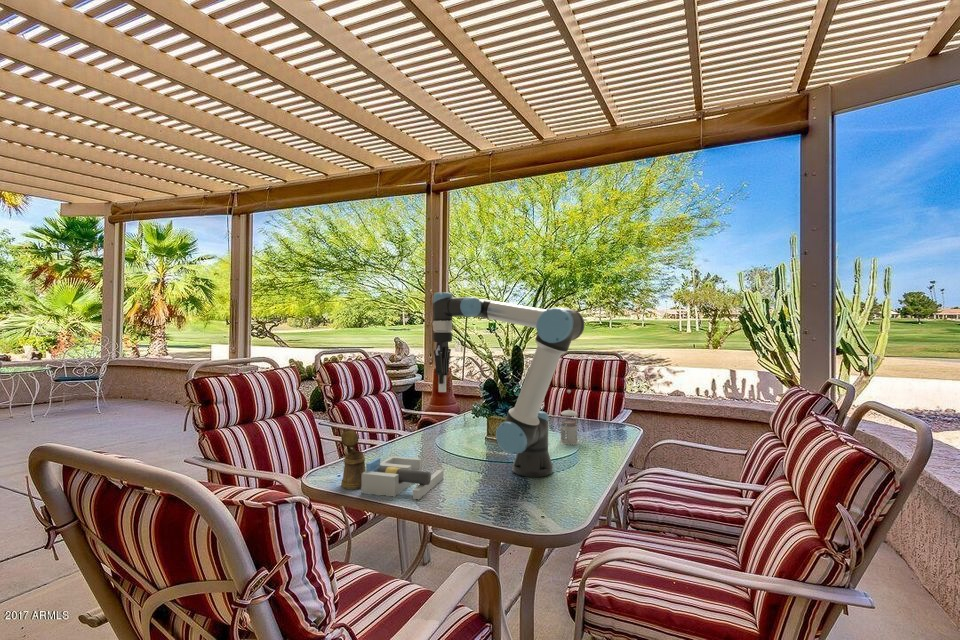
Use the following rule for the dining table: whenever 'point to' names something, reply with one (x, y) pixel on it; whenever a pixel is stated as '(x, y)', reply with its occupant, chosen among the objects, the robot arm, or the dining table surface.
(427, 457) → the dining table surface
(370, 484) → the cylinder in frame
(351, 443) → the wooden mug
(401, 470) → the rod
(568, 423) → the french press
